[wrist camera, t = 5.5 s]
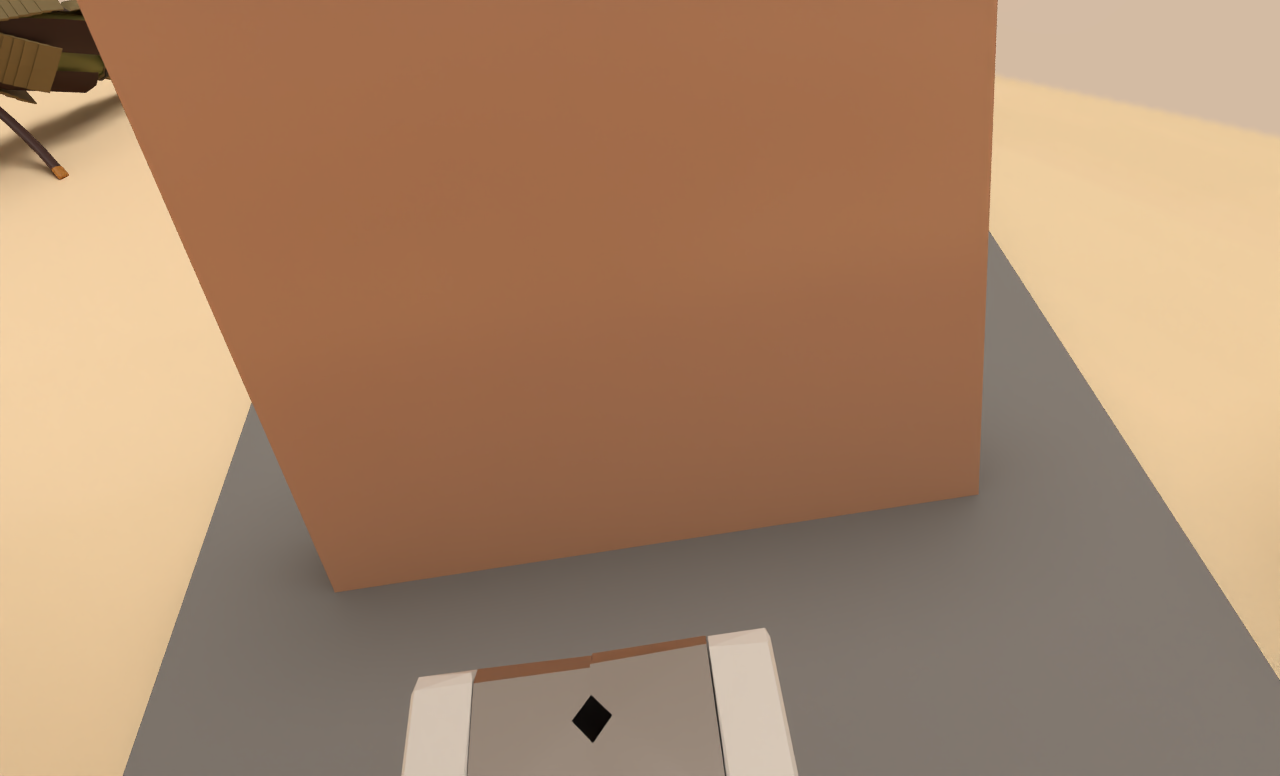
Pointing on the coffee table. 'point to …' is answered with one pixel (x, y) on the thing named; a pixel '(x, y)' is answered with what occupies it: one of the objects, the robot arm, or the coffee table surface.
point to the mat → (773, 616)
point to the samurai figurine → (45, 58)
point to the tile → (579, 257)
